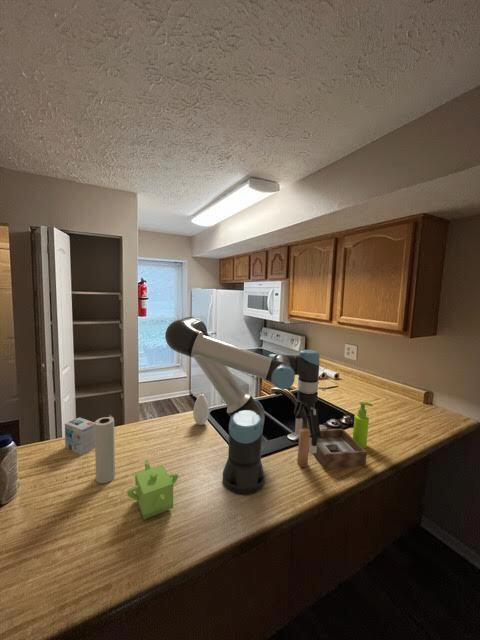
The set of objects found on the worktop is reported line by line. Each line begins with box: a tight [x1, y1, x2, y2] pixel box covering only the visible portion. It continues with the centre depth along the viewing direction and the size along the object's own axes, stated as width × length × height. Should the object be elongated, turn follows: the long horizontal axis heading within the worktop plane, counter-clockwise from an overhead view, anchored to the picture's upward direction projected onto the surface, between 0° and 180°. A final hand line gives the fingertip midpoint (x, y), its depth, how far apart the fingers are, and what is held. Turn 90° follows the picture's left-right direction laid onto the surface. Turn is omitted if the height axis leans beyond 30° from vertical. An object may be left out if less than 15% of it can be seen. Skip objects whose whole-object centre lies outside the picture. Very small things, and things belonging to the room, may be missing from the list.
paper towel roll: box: [94, 414, 116, 484], centre depth 95 cm, size 7×6×21 cm
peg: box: [297, 427, 310, 468], centre depth 107 cm, size 4×4×14 cm
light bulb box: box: [64, 416, 95, 456], centre depth 113 cm, size 11×7×11 cm, turn 65°
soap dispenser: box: [352, 401, 374, 449], centre depth 122 cm, size 6×7×20 cm
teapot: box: [127, 459, 179, 521], centre depth 84 cm, size 15×13×11 cm
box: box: [310, 428, 368, 470], centre depth 115 cm, size 18×18×6 cm
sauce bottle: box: [192, 389, 210, 426], centre depth 136 cm, size 8×8×18 cm
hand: (305, 442), depth 107 cm, fingers open, 13 cm apart
